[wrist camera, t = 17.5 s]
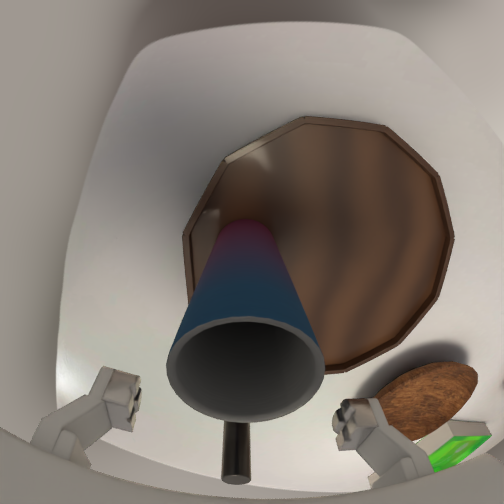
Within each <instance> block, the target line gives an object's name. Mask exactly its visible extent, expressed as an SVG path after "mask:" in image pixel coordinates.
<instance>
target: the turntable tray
mask: <svg viewBox="0 0 504 504" xmlns="http://www.w3.org/2000/svg"><path fill="white" fill-rule="evenodd" d="M240 219H251V220H255V221H258V222H260V223H262V224H263V225H264V226H266V227H267V228H268V229H269V231H270V232H271V234H272V236H273V238H274V240H275V243H276V245H277V247H278V249H279V252H280V254H281V256H282V259H283V261H284V263H285V266H286V268H287V270H288V273H289V275H290V277H291V280H292V282H293V284H294V287H295V289H296V291H297V294H298V296H299V298H300V301H301V303H302V306H303V308H304V310H305V313H306V315H307V318H308V320H309V322H310V325H311V327H312V330H313V332H314V334H315V337H316V339H317V342H318V344H319V347H320V349H321V352H322V354H323V357H324V362H325V373H324V375H327V374H338V373H344V372H348V371H350V370H352V369H354V368H356V367H358V366H360V365H362V364H364V363H366V362H368V361H370V360H372V359H374V358H376V357H378V356H380V355H382V354H384V353H386V352H388V351H390V350H391V349H393V348H395V347H397V346H398V344H399V345H400V344H401V343H402V342H403V340H404V339H405V338H406V337H407V336H408V335H409V334H410V333H411V331H412V330H413V329H414V328H415V327H416V326H417V324H418V323H419V322H420V321H421V320H422V318H423V317H424V316H425V315H426V314H427V312H428V311H429V310H430V309H431V307H432V306H433V305H434V304H435V302H436V301H437V300H438V297H439V295H440V292H441V289H442V285H443V282H444V279H445V275H446V272H447V268H448V264H449V260H450V256H451V252H452V248H453V244H454V240H455V239H454V237H455V236H454V231H453V226H452V222H451V217H450V213H449V208H448V204H447V200H446V197H445V193H444V189H443V185H442V182H441V178H440V176H439V175H438V173H437V172H436V171H435V170H434V169H433V168H432V167H431V166H430V165H429V164H428V163H427V162H426V161H425V160H424V159H423V158H422V157H421V156H420V155H419V154H418V153H417V152H416V151H415V150H414V149H413V148H412V147H410V146H409V145H408V144H407V143H406V142H405V141H404V140H403V139H401V138H400V137H399V136H398V135H397V134H396V133H395V132H393V131H392V130H391V129H390V128H389V127H386V126H385V125H380V124H373V123H366V122H359V121H351V120H343V119H334V118H323V117H311V116H304V117H300V118H297V119H295V120H293V121H291V122H289V123H287V124H285V125H284V126H282V127H280V128H278V129H276V130H274V131H272V132H270V133H268V134H266V135H264V136H262V137H260V138H258V139H257V140H255V141H253V142H251V143H249V144H248V145H246V146H244V147H242V148H240V149H239V150H237V151H235V152H233V153H232V154H230V155H228V156H226V157H225V158H224V159H223V160H222V162H221V163H220V165H219V167H218V169H217V170H216V172H215V174H214V176H213V177H212V179H211V181H210V183H209V184H208V186H207V188H206V190H205V192H204V194H203V195H202V197H201V199H200V201H199V203H198V205H197V206H196V208H195V210H194V212H193V214H192V216H191V218H190V220H189V221H188V223H187V225H186V227H185V229H184V231H183V235H182V241H183V254H184V265H185V276H186V286H187V295H188V304H189V303H190V300H191V298H192V296H193V293H194V291H195V288H196V286H197V284H198V281H199V279H200V277H201V274H202V272H203V270H204V267H205V265H206V263H207V260H208V258H209V256H210V254H211V251H212V249H213V247H214V244H215V242H216V240H217V238H218V235H219V234H220V232H221V230H222V229H223V228H224V227H225V226H227V225H228V224H229V223H231V222H233V221H236V220H240ZM221 479H222V481H223V482H225V483H228V484H235V485H239V484H246V483H249V482H250V481H251V451H250V423H239V422H229V421H224V432H223V452H222V473H221Z"/></svg>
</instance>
